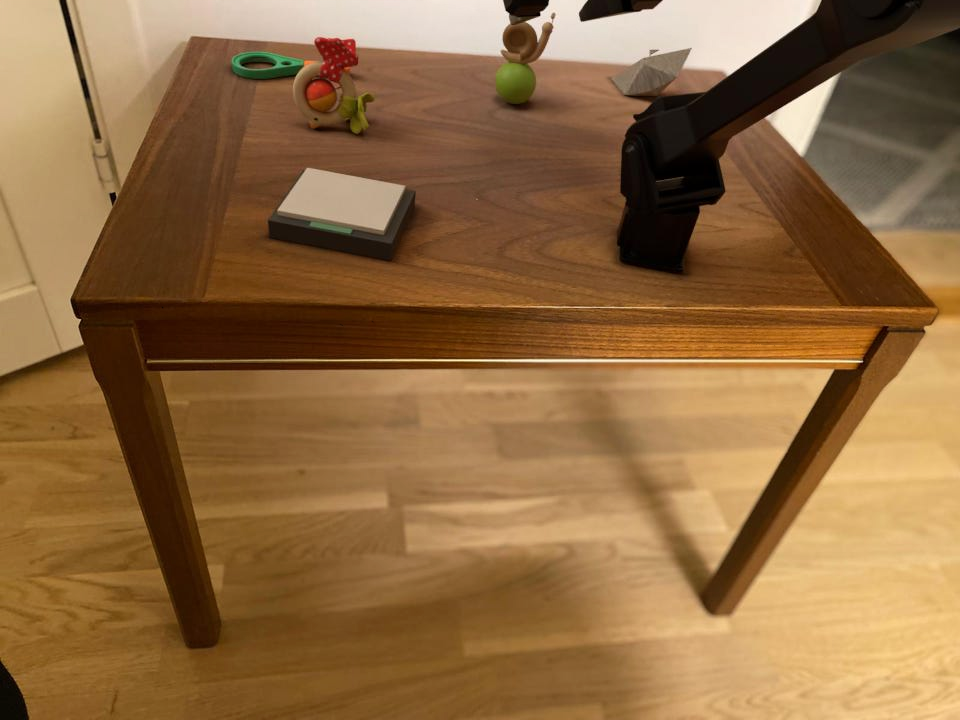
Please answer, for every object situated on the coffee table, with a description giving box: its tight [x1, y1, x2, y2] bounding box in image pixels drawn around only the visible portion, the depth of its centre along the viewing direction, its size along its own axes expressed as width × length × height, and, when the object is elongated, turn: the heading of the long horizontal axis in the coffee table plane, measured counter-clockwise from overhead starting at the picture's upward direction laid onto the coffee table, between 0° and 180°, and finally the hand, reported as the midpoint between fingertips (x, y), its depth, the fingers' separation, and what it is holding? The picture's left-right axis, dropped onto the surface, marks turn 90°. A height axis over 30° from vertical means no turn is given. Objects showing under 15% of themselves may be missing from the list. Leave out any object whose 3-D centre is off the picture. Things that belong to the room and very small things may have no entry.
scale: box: [267, 167, 417, 261], centre depth 74 cm, size 12×10×3 cm
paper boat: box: [610, 47, 693, 98], centre depth 106 cm, size 12×6×9 cm
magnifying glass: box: [231, 51, 351, 80], centre depth 98 cm, size 15×6×2 cm, turn 97°
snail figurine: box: [494, 12, 556, 105], centre depth 96 cm, size 5×6×12 cm
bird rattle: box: [292, 36, 375, 135], centre depth 85 cm, size 6×11×9 cm
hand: (546, 19), depth 85 cm, fingers open, 9 cm apart
